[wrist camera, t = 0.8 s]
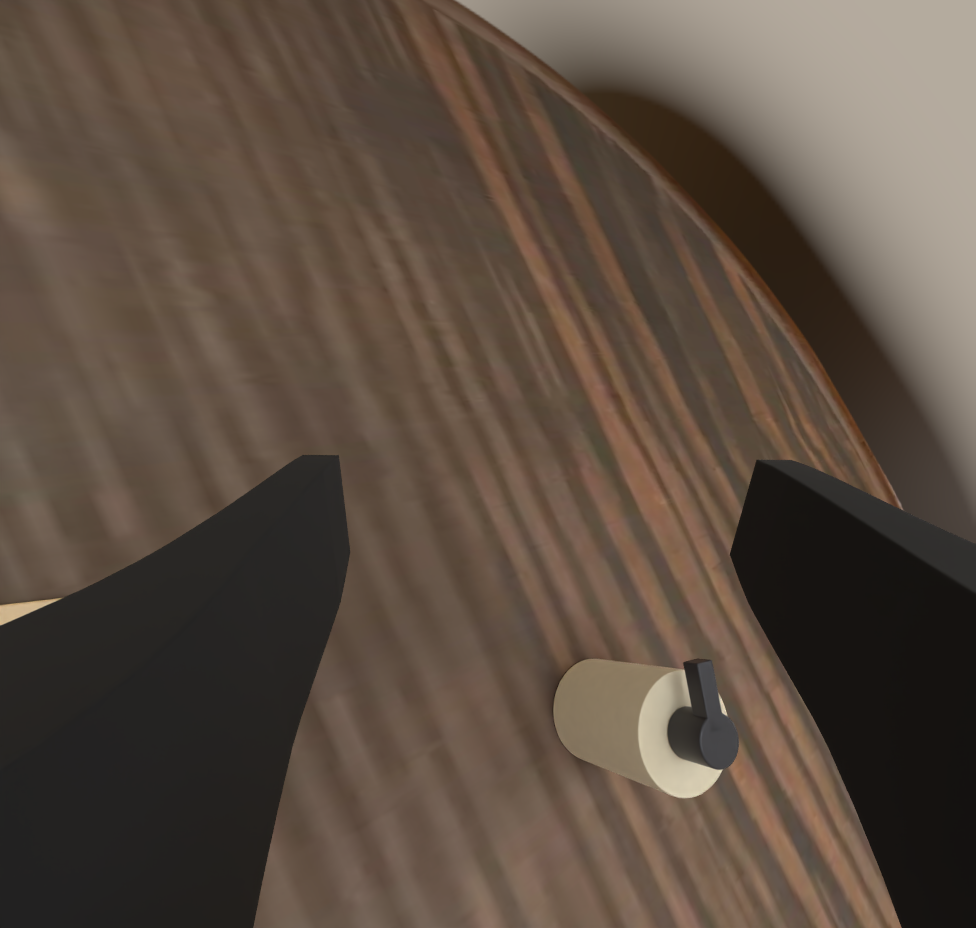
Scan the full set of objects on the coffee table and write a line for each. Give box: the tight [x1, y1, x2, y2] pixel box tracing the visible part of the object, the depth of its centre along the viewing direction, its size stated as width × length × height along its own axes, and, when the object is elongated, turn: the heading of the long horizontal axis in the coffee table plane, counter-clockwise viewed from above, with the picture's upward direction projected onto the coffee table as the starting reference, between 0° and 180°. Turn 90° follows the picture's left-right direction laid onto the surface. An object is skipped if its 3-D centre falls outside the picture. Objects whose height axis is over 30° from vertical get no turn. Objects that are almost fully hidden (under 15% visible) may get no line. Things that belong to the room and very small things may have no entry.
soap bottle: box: [553, 659, 739, 798], centre depth 26 cm, size 5×5×8 cm
